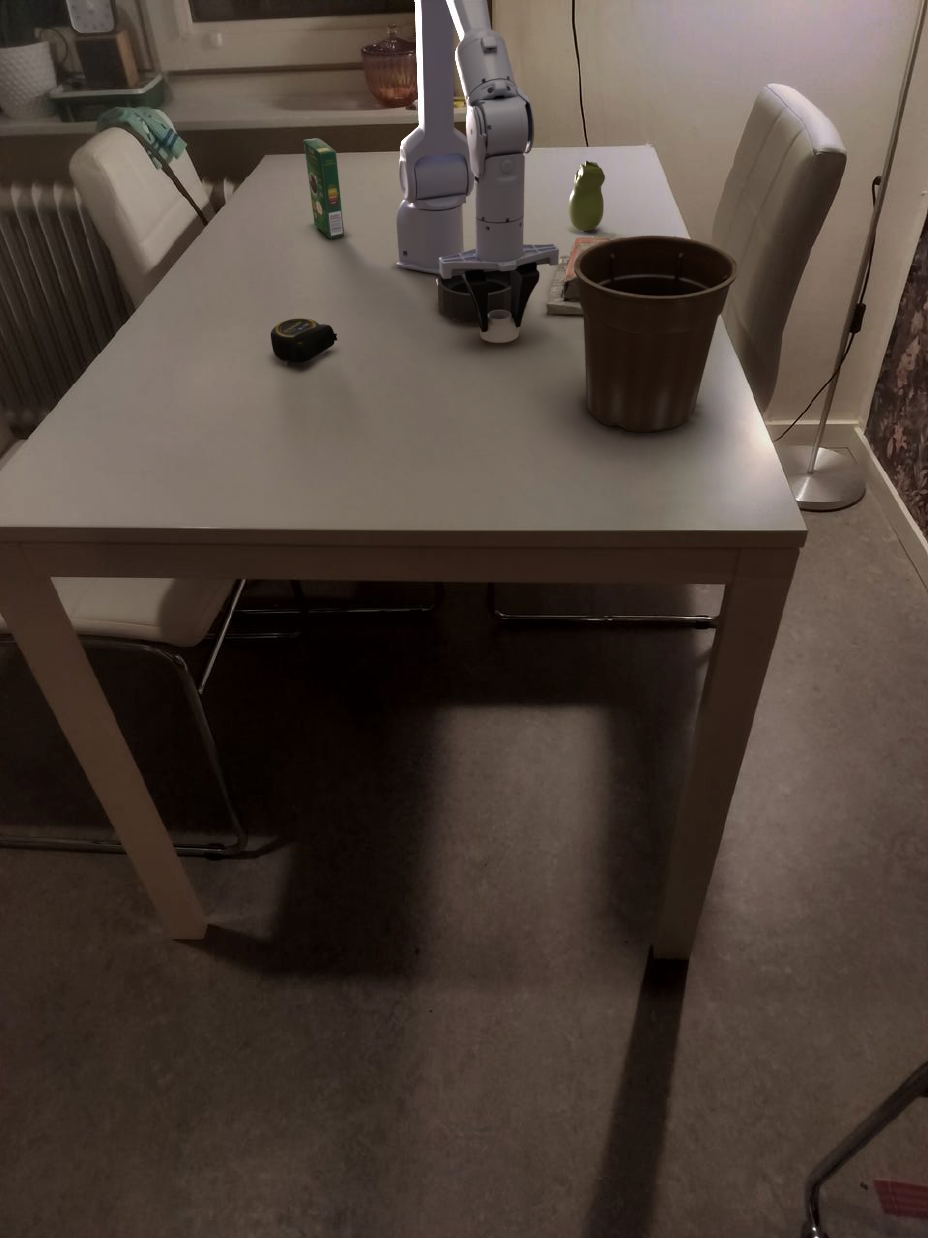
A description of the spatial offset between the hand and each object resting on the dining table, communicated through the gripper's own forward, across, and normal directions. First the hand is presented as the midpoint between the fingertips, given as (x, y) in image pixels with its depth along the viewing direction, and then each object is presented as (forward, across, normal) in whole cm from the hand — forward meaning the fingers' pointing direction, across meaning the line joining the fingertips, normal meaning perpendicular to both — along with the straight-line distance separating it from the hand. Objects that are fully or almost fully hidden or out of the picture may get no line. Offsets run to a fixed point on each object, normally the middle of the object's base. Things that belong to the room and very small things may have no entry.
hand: (499, 326), depth 111 cm
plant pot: (+2, +10, -21) cm, 24 cm away
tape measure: (+2, -24, +3) cm, 25 cm away
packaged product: (+2, +16, +11) cm, 20 cm away
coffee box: (+2, -16, +48) cm, 50 cm away
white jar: (+2, 0, 0) cm, 2 cm away
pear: (+2, +25, +35) cm, 43 cm away
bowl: (+2, 0, +10) cm, 10 cm away
